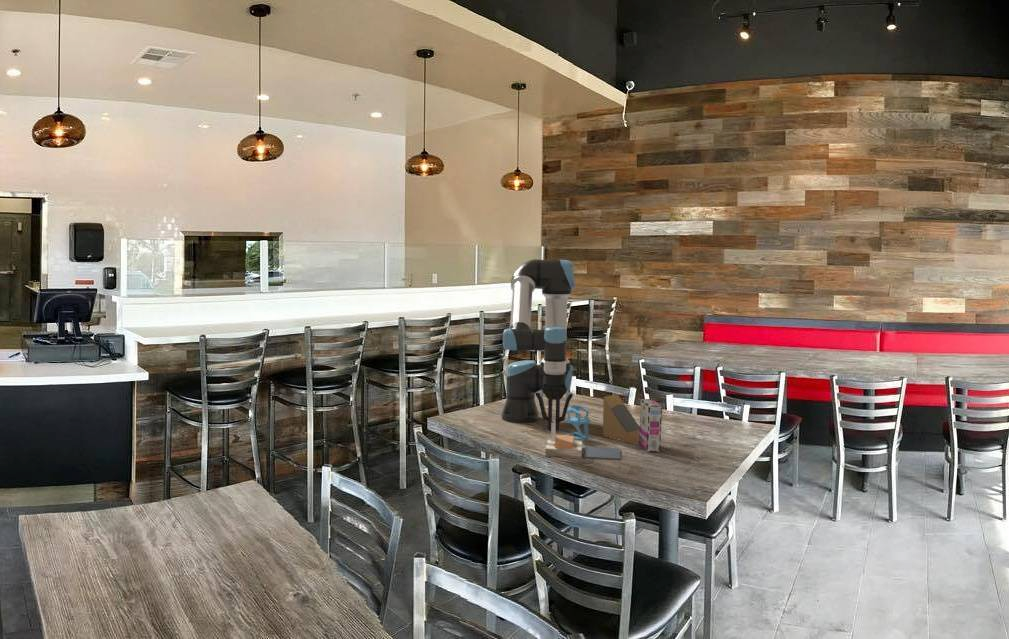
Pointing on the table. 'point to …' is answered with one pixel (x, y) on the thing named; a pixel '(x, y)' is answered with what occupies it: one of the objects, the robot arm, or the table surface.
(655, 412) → the candy bar box
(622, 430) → the sandwich container
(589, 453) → the mat
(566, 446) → the orange flat block
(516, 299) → the robot arm
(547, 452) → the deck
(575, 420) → the chair
